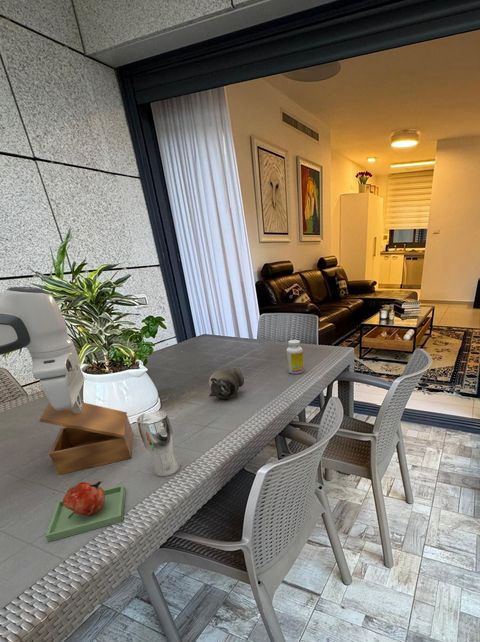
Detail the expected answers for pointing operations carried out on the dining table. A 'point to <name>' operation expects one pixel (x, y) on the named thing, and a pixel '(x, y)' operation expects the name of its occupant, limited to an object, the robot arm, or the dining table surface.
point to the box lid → (88, 419)
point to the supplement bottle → (295, 357)
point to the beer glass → (159, 441)
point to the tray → (82, 523)
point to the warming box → (89, 449)
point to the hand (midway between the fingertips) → (78, 411)
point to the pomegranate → (84, 498)
